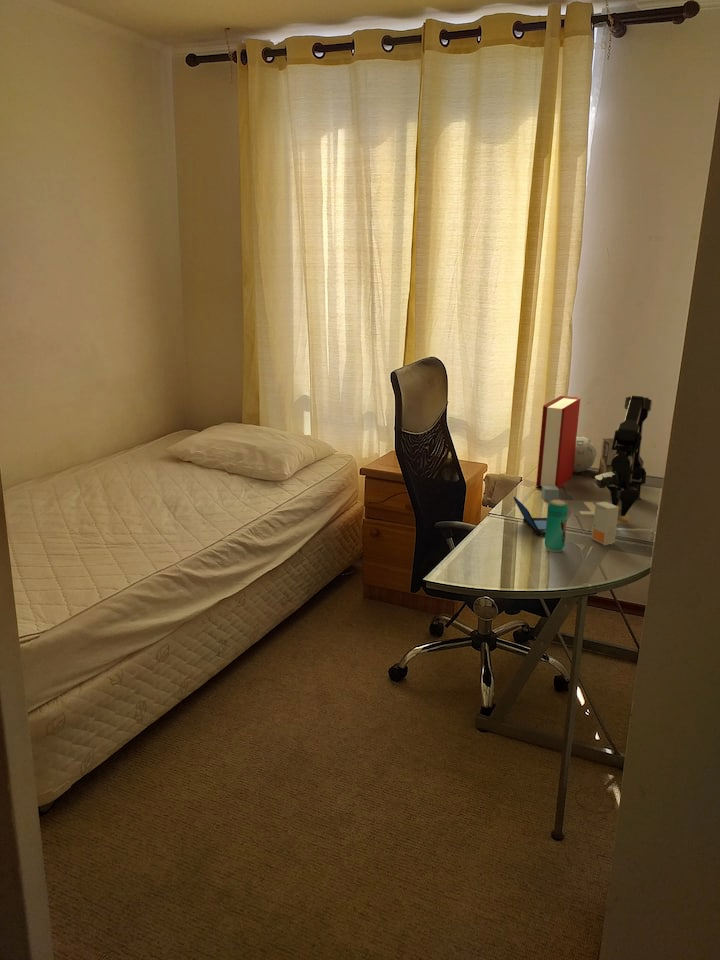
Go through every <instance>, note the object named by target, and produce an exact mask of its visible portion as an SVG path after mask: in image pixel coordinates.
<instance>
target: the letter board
mask: <svg viewBox="0 0 720 960" xmlns="http://www.w3.org/2000/svg"><path fill="white" fill-rule="evenodd" d="M563 500H564V501H566V502H567V506H568V511H570V512H571V514H572V515H573V516H574V517H594V513H595V505H596V503H599V502H607V503H610V504H612V501H611V500H579V499H578V500H576V499H575V500H574V499H572V500H571V499H563Z"/></svg>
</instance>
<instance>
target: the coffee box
mask: <svg viewBox="0 0 720 960" xmlns="http://www.w3.org/2000/svg"><path fill="white" fill-rule="evenodd" d="M613 440H614V437H612V438H609V437H608V438H602V440H601V447H600V456H599V457H600V458H599V466H598V468H599V469H598V475H600V474H603V473H607V472H611V468H612V466H611V462H612V459H613V458H614V456H615V455H616V451H617V450H612V445H613ZM616 443H617V441H616ZM616 445H617V444H615V446H616Z"/></svg>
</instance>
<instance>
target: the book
mask: <svg viewBox="0 0 720 960" xmlns="http://www.w3.org/2000/svg"><path fill="white" fill-rule="evenodd" d="M580 404H581V397H579V396H578V397H577V396H567V395H560V396H557V397H556V398H554V399H553V400H551V401H549V402H547V403H545V404H544V405H543V406H542V416H541V429H540V437H539V438H540V440H539V451H538V463H537V473H536V484H535V485H536V486H541V488H542V486H557V488H558V489H559V490H560V489H561V487H563V486H564V485H565V484H566V483H567V482H568V481H569V480H570V479H571V478H572V477H573V475H574V472H573V467H574V457H575V447H576V437H577V436H578V427H579V426H578V425H579V416H580V406H581V405H580ZM569 478H570V479H569ZM568 479H569V480H568Z"/></svg>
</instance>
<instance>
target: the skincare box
mask: <svg viewBox="0 0 720 960" xmlns="http://www.w3.org/2000/svg"><path fill="white" fill-rule="evenodd" d="M618 510H619V507H617V506H615V505H613V504H610V503H607V502H599V503H596V505H595V513H594V516H593V522H592V523H593V524H592V532H591V540H593V541H595V542H597V543H599V544H601V545H603V546H608V545H609V544H610V545H614V544H615V541H616V534H617V526H618V524H617V518H618ZM613 543H614V544H613Z"/></svg>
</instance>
